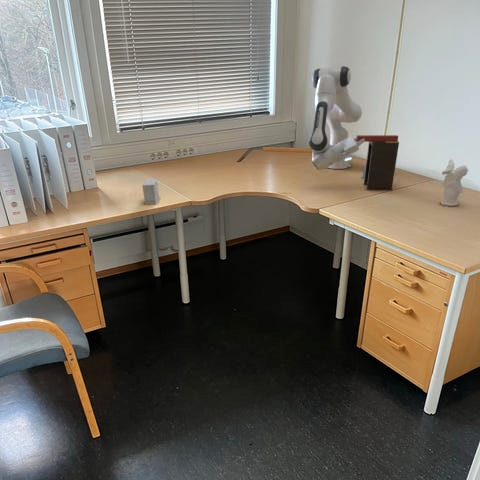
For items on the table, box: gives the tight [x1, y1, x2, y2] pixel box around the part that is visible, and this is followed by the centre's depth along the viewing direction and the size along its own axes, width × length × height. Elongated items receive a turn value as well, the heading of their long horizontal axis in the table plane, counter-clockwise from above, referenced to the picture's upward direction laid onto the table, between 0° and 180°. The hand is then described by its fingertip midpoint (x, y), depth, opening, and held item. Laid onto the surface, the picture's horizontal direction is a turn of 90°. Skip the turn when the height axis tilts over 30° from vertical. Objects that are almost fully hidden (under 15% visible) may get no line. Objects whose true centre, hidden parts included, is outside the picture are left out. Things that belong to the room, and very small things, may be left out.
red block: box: [355, 134, 399, 143], centre depth 262 cm, size 3×22×3 cm, turn 86°
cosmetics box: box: [142, 179, 160, 205], centre depth 260 cm, size 10×6×10 cm, turn 178°
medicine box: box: [361, 163, 366, 180], centre depth 291 cm, size 8×4×9 cm, turn 47°
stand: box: [363, 141, 400, 191], centre depth 272 cm, size 12×14×26 cm
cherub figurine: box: [440, 158, 469, 207], centre depth 246 cm, size 12×12×22 cm
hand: (363, 138), depth 263 cm, fingers open, 6 cm apart
